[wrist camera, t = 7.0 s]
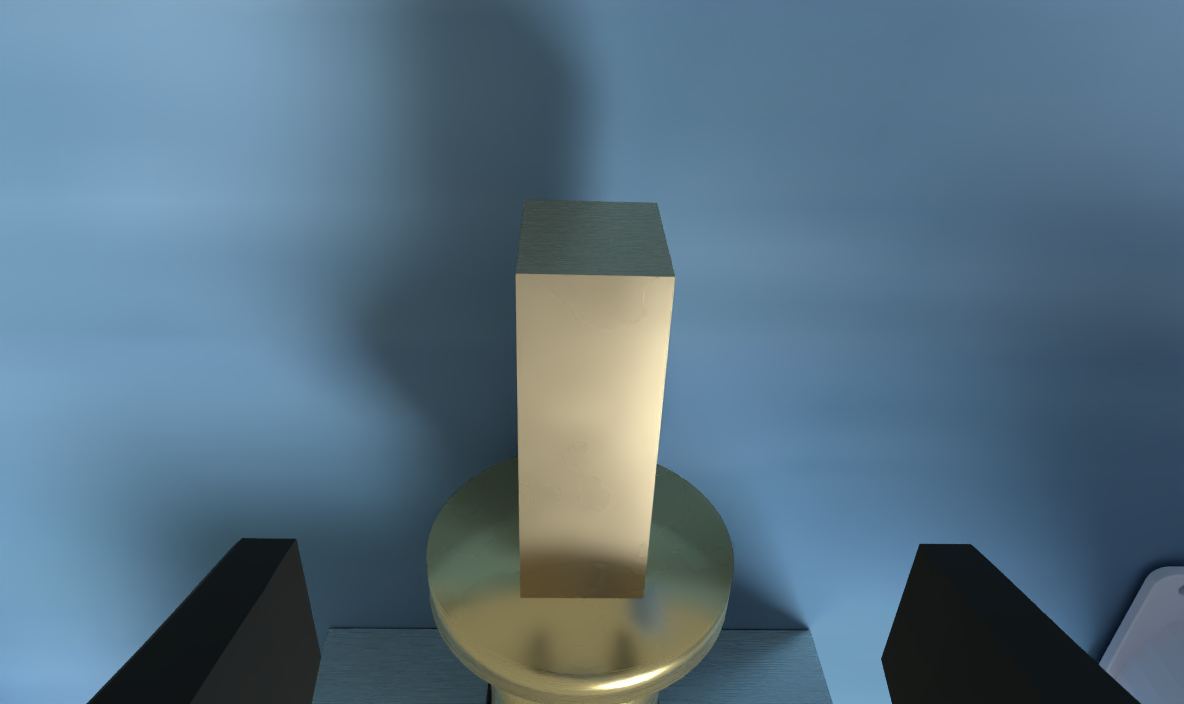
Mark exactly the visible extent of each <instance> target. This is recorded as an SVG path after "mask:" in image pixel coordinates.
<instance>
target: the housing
mask: <svg viewBox="0 0 1184 704" xmlns="http://www.w3.org/2000/svg"><path fill="white" fill-rule="evenodd" d="M312 704H492V691H491V684H489V683H488V682H486V681H484V680H483V679H481V678H480V677H478V676H477V675H476V674H474V673H473V672H472V671H471V670H470V669H468V668H467V667H466V666H465V665H463V663H462V662H461V661H460V660H459V659H458V658H457V657H456V656H455V655H454V654H453V652H452V651H451V650H450V649H449V647H448V646H447V644H446V642H445V641H444V639H443V638H442V636H441V634H440V632H439V630H438V629H329V630H328V634H327V637H326V640H325V643H324V647H323V650H322V653H321V661H320V666H319V671H318V676H317V680H316V685H315V690H314V695H313V700H312ZM657 704H833V703H832V700H831V696H830V693H829V690H828V687H827V683H826V680H825V677H824V674H823V670H822V667H821V664H820V661H819V657H818V654H817V651H816V647H815V644H814V641H813V638H812V634H811V631H803V630H721V631H720V633H719V636H718V638H717V640H716V641H715V643H714V644H713V646H712V648H711V649H710V651H709V652H708V653H707V654H706V656H705V657H704V658H703V659H702V660H701V661H700V662H699V664H698V665H697V666H696V667H694V668H693V669H692V670H691V671H690V672H688V673H687V674H686V675H685V676H684V677H682V678H681V679H679V680H678V681H676V682H674V683H673V684H671V685H670V686H668V687H667V688H665V689H662V690H660V691H659V695H658V703H657Z"/></svg>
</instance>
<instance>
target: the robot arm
mask: <svg viewBox="0 0 1184 704" xmlns="http://www.w3.org/2000/svg"><path fill="white" fill-rule="evenodd" d="M881 660H882V665H883V669H884V673H885V677H886V681H887V685H888V689H889V693H890V697H891V701H892V704H1184V567H1174V566H1168V567H1161V568H1159V569H1156V570H1154V571H1153V572H1151V573H1150V574H1149V575H1148V576H1147V578H1146V579H1145V581H1144V583H1143V585H1142V587H1141V588H1140V590H1139V592H1138V594H1137V596H1136V598H1135V599H1134V601H1133V603H1132V605H1131V607H1130V608H1129V610H1128V612H1127V614H1126V616H1125V617H1124V619H1123V621H1122V623H1121V625H1120V626H1119V628H1118V630H1117V632H1116V634H1115V636H1114V637H1113V639H1112V641H1111V643H1110V645H1109V646H1108V648H1107V650H1106V652H1105V654H1104V655H1103V657H1102V659H1101V661H1100V663H1099V664H1097V663H1096V662H1095V661H1094V660H1093V659H1092V658H1091V657H1090V656H1089V655H1088V654H1087V653H1086V652H1085V651H1084V650H1083V649H1081V648H1080V647H1079V646H1078V645H1077V644H1076V643H1075V642H1074V641H1073V640H1072V639H1071V638H1070V637H1069V636H1068V635H1067V634H1066V633H1065V632H1063V631H1062V630H1061V629H1060V628H1059V627H1058V626H1057V625H1056V624H1055V623H1054V622H1053V621H1052V620H1051V619H1050V618H1049V617H1048V616H1047V615H1046V614H1045V613H1043V612H1042V611H1041V610H1040V609H1039V608H1038V607H1037V606H1036V605H1035V604H1034V603H1033V602H1032V601H1031V600H1030V599H1029V598H1028V597H1027V596H1026V595H1025V594H1024V593H1023V592H1022V591H1021V590H1019V589H1018V588H1017V587H1016V586H1015V585H1014V584H1013V583H1012V582H1011V581H1010V580H1009V579H1008V578H1007V577H1006V576H1005V575H1004V574H1003V573H1002V572H1001V571H999V570H998V569H997V568H996V567H995V566H994V565H993V564H992V563H991V562H990V561H989V560H988V559H987V558H986V557H984V556H983V555H982V554H981V553H980V552H979V551H978V550H977V549H976V548H975V547H973V546H972V545H971V544H919V547H918V550H917V553H916V556H915V559H914V562H913V565H912V568H911V571H910V574H909V577H908V580H907V583H906V586H905V589H904V592H903V595H902V598H901V601H900V604H899V607H898V610H897V613H896V616H895V619H894V622H893V625H892V628H891V631H890V634H889V637H888V640H887V643H886V646H885V649H884V652H883V655H882V658H881ZM320 661H321V654H320V649H319V645H318V640H317V635H316V630H315V626H314V621H313V616H312V612H311V607H310V602H309V597H308V593H307V588H306V583H305V578H304V574H303V569H302V564H301V559H300V555H299V550H298V545H297V540H296V539H257V538H242V539H241V540H240V541H239V542H237V543H236V544H235V545H234V546H233V547H232V548H231V549H230V550H229V551H228V553H227V554H226V555H225V556H224V557H223V558H222V559H221V560H220V561H219V562H218V564H217V565H216V566H215V567H214V568H213V569H212V570H211V571H210V572H209V573H208V575H207V576H206V577H205V578H204V579H203V580H202V581H201V582H200V583H199V585H198V586H197V587H196V588H195V589H194V590H193V591H192V592H191V593H190V594H189V596H188V597H187V598H186V599H185V600H184V601H183V602H182V603H181V604H180V605H179V607H178V608H177V609H176V610H175V611H174V612H173V613H172V614H171V615H170V616H169V617H168V619H167V620H166V621H165V622H164V623H163V624H162V625H161V626H160V627H159V628H158V629H157V630H156V632H155V633H154V634H153V635H152V636H151V637H150V638H149V639H148V640H147V641H146V642H145V643H144V644H143V646H142V647H141V648H140V649H139V650H138V651H137V652H136V653H135V654H134V655H133V656H132V657H131V658H130V659H129V660H128V661H127V662H126V663H125V664H124V665H123V666H122V667H121V668H120V669H119V671H118V672H117V673H116V674H115V675H114V676H113V677H112V678H111V679H110V680H109V681H108V682H107V683H106V684H105V685H104V686H103V687H102V688H101V689H100V690H99V691H98V692H97V693H96V694H95V696H94V697H93V698H92V699H91V700H90V701H89V702H88V703H87V704H312V700H313V695H314V690H315V685H316V680H317V676H318V671H319V666H320Z"/></svg>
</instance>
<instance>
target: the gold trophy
mask: <svg viewBox="0 0 1184 704" xmlns="http://www.w3.org/2000/svg"><path fill="white" fill-rule="evenodd" d="M674 284H675V274H674V270H673V266H672V262H671V258H670V254H669V250H668V246H667V242H666V238H665V234H664V230H663V225H662V221H661V217H660V213H659V209H658V205H657V203H640V202H600V201H560V200H525V201H524V209H523V217H522V225H521V233H520V242H519V250H518V258H517V266H516V336H517V406H518V456H517V457H513V458H511V459H508V460H506V461H503V462H501V463H498V464H496V465H494V466H492V467H490V468H488V469H486V470H484V471H482V472H481V473H479V474H478V475H476V476H475V477H473V478H472V479H470V480H469V481H468V482H466V483H465V484H464V485H463V486H462V487H460V488H459V489H458V490H457V491H456V492H455V493H454V494H453V495H452V496H451V498H450V499H449V500H448V501H447V502H446V503H445V505H444V506H443V508H442V509H441V511H440V512H439V514H438V516H437V518H436V520H435V522H434V524H433V526H432V529H431V532H430V535H429V539H428V544H427V553H426V560H427V573H428V583H429V594H430V604H431V609H432V613H433V617H434V621H435V623H436V625H437V628H438V630H439V632H440V634H441V636H442V638H443V639H444V641H445V642H446V644H447V646H448V647H449V649H450V650H451V651H452V652H453V654H454V655H455V656H456V657H457V658H458V659H459V660H460V661H461V662H462V663H463V665H465V666H466V667H467V668H468V669H470V670H471V671H472V672H473V673H474V674H476V675H477V676H478V677H480V678H481V679H483V680H484V681H486V682H488V683H489V684H491V691H492V704H657V703H658V695H659V691H660V690H662V689H665V688H667V687H668V686H670V685H671V684H673V683H674V682H676V681H678V680H679V679H681V678H682V677H684V676H685V675H686V674H687V673H688V672H690V671H691V670H692V669H693V668H694V667H696V666H697V665H698V664H699V662H700V661H701V660H702V659H703V658H704V657H705V656H706V654H707V653H708V652H709V651H710V649H711V648H712V646H713V644H714V643H715V641H716V640H717V638H718V636H719V633H720V631H721V629H722V626H723V624H724V620H725V616H726V611H727V606H728V601H729V595H730V590H731V584H732V578H733V571H734V555H733V548H732V543H731V540H730V537H729V533H728V530H727V528H726V526H725V524H724V522H723V520H722V518H721V516H720V515H719V514H718V512H717V511H716V509H715V508H714V506H713V505H712V504H711V503H710V502H709V501H708V499H707V498H706V497H705V496H704V495H703V494H702V493H701V492H700V491H699V490H697V489H696V488H695V487H694V486H693V485H692V484H690V483H689V482H688V481H686V480H685V479H683V478H682V477H680V476H679V475H677V474H676V473H674V472H672V471H670V470H668V469H666V468H664V467H663V466H660V465H658V464H657V455H658V445H659V435H660V425H661V415H662V405H663V395H664V385H665V375H666V365H667V355H668V344H669V334H670V324H671V314H672V304H673V294H674Z"/></svg>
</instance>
